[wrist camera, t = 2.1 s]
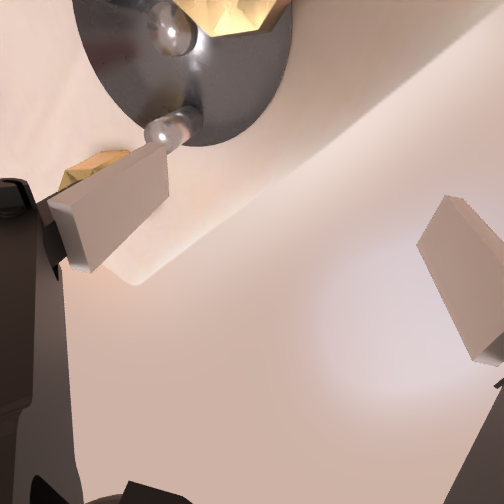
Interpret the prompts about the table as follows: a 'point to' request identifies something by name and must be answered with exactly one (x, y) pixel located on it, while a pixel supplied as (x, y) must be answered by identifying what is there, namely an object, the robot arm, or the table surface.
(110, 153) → the gear
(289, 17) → the carrier
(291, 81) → the table surface
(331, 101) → the table surface
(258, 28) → the seated gear
